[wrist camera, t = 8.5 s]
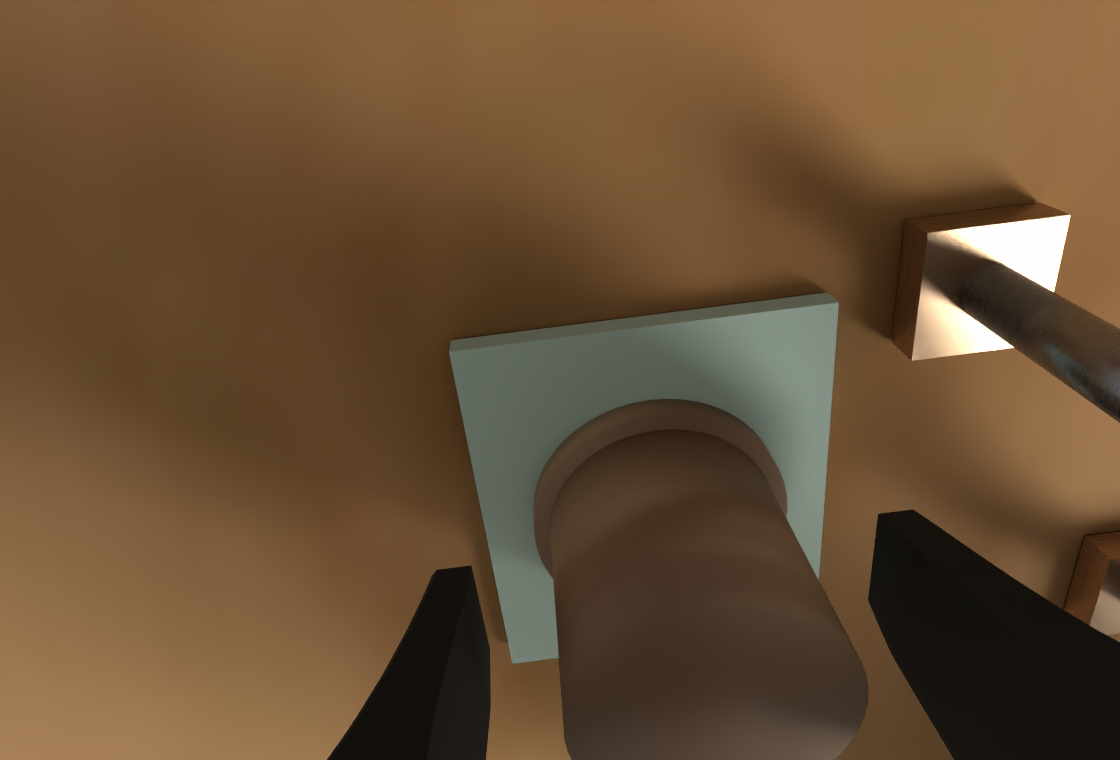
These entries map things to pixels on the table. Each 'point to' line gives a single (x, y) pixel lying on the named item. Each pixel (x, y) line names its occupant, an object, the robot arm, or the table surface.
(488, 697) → the robot arm
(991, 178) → the table surface
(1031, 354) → the buzz wire
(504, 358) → the pad
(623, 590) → the brown domed cylinder
